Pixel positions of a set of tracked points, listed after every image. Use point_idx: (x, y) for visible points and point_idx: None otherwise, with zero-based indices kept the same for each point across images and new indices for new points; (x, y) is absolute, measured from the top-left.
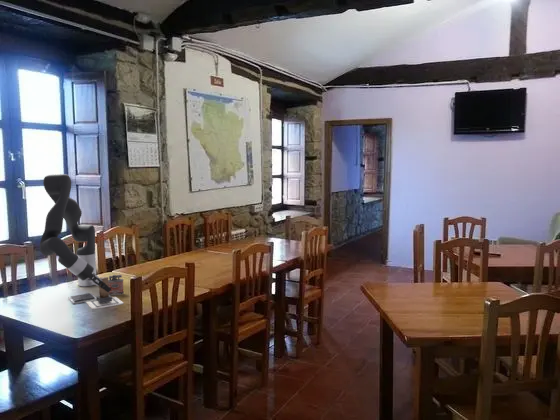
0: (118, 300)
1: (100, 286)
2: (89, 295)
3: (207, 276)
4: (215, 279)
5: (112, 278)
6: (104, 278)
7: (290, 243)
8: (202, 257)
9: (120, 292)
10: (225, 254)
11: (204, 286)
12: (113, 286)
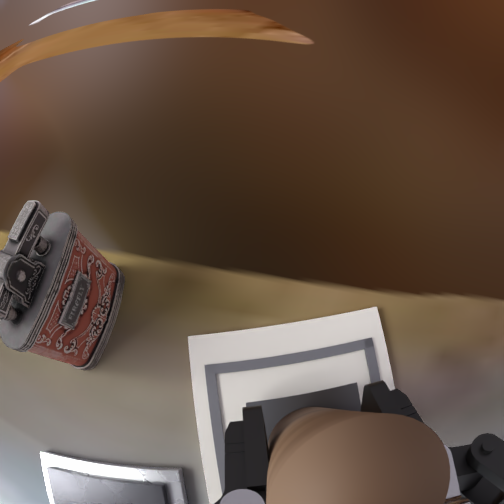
0: (304, 333)
1: (494, 486)
2: (95, 493)
3: (136, 32)
4: (181, 20)
5: (19, 293)
6: (407, 483)
7: (72, 3)
8: (3, 69)
9: (115, 285)
10: (28, 44)
11: (235, 31)
12: (75, 315)
